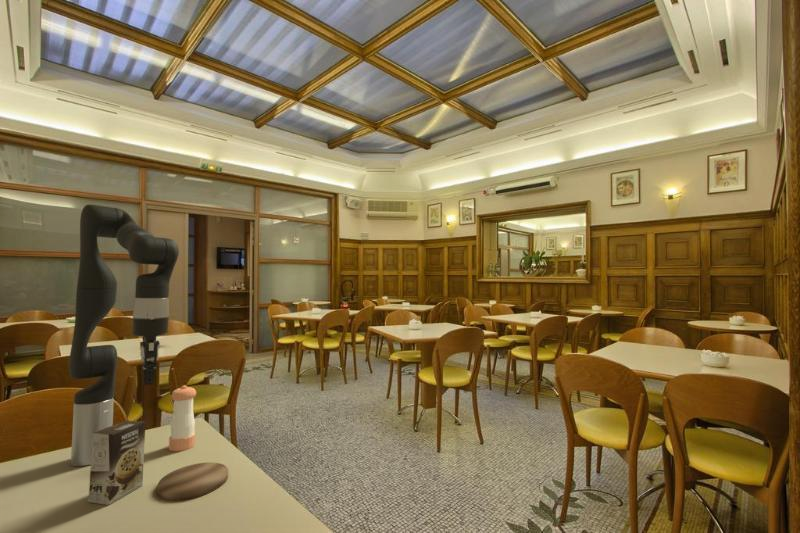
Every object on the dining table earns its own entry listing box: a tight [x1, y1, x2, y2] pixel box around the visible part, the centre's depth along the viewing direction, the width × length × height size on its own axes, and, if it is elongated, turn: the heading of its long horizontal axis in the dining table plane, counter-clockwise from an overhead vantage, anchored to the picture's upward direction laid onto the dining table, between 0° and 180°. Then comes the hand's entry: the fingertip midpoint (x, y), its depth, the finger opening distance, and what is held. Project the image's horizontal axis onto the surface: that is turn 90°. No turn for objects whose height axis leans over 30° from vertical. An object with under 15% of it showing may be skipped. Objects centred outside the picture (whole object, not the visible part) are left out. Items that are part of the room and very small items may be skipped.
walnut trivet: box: [156, 462, 229, 501], centre depth 95 cm, size 16×16×2 cm
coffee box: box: [87, 420, 146, 506], centre depth 91 cm, size 9×6×16 cm
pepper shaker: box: [168, 384, 197, 452], centre depth 118 cm, size 7×7×19 cm
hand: (147, 380), depth 92 cm, fingers open, 8 cm apart
